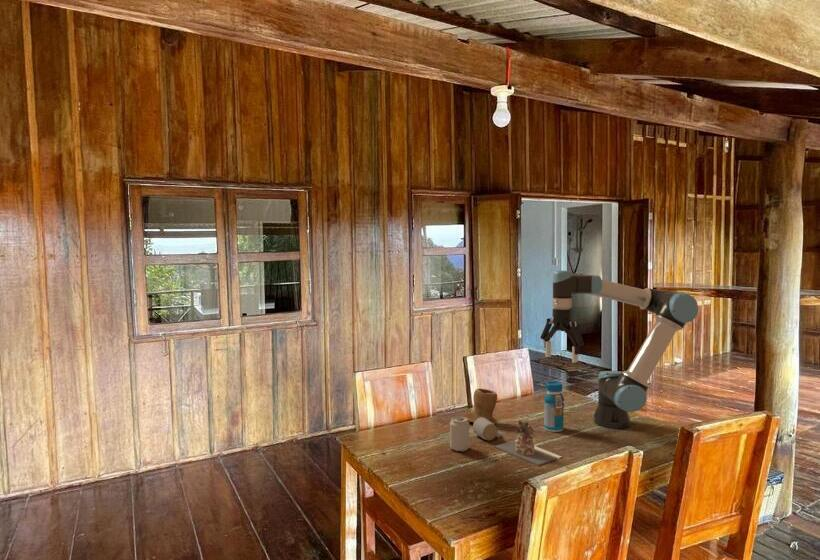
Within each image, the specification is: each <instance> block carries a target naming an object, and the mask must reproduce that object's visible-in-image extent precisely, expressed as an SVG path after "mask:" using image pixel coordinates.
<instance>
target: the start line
mask: <svg viewBox="0 0 820 560" xmlns="http://www.w3.org/2000/svg"><path fill="white" fill-rule="evenodd" d="M516 440H517V439H515V440H513V441H515V442H516ZM534 449H535V450H538V451H540V452H543V453H545V454H548V455H550V456H553V457H556V458H557V460H558V459H561V457H562V456H561V455H558V454H556V453H555V452H554V453H553V452H551V451H549V450H546V449H544V448H541V447H538V446H535V445H534Z"/></svg>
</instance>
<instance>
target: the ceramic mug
mask: <svg viewBox="0 0 820 560" xmlns="http://www.w3.org/2000/svg"><path fill="white" fill-rule="evenodd" d="M472 430H473V433H474V434H475V435H476V436H477V437H479V438H482V439H483V440H485V441H492V440H494V439H495V438H496V437H498V438H500V437H501V435H502V433H501V432H500V431H498V427H497V426H496V425H495V424H493V423H492V422H490V421H489V420H487V419H486V418H483V417H480V418H478V419H477V420H476V421H475V422H474V423H472Z"/></svg>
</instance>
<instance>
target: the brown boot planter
mask: <svg viewBox="0 0 820 560" xmlns="http://www.w3.org/2000/svg"><path fill="white" fill-rule="evenodd" d="M497 400H498V394H497V392H495V391H493V390H490V389H487V388H486V389H485V388H476V389H475V390H474V392H473V406H474V411H473V412H468V411H467V412H463V413H462V414H461V415H460V416H459V417H465V418H467V419H468V420H467V421H468V422H469V423H472V424H474V422H475V421H476V420H477V419H478V418H480V417H483V418H486V419H487V420H489V421H490V422H492V423H493V424H494V425H495V424H497V421H498V420H497V419H496V418H494V415H493V412H494V411H495V408H496V405H497V402H498V401H497Z"/></svg>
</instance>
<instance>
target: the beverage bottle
mask: <svg viewBox="0 0 820 560" xmlns="http://www.w3.org/2000/svg"><path fill="white" fill-rule="evenodd" d="M545 390H546V393H545V394H544V397H543V400H544V402H543V429H544V430H546V431H547V432H552V433H559V432H563V430H564V415H565V414H564V408H565V403H564V400H565V398H564V395H563V394H562V392H563V384H562V382H559V381H547V382H546V383H545Z"/></svg>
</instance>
